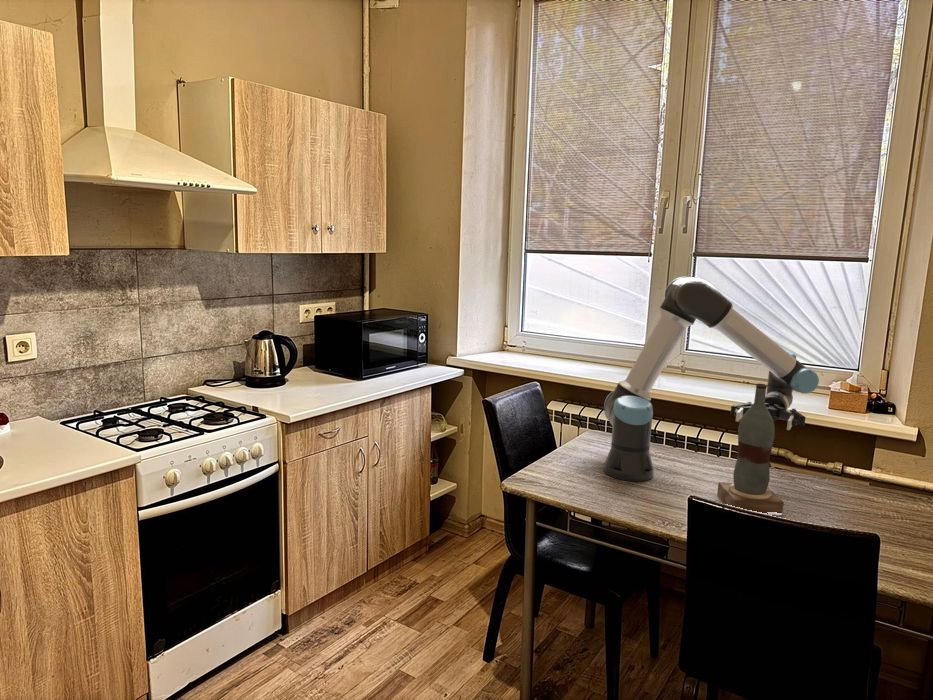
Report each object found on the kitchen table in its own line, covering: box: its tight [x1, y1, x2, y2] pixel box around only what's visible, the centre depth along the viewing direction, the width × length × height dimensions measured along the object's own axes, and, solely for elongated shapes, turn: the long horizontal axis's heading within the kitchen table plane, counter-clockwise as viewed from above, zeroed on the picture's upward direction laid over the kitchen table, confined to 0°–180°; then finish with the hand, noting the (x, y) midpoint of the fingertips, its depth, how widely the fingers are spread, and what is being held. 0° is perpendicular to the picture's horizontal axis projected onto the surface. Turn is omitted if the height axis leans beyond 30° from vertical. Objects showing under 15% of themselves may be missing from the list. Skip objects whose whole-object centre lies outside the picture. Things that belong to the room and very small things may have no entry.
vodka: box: [732, 383, 776, 495], centre depth 181 cm, size 9×9×30 cm
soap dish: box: [716, 481, 785, 514], centre depth 184 cm, size 13×13×5 cm
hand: (762, 421), depth 188 cm, fingers open, 13 cm apart
